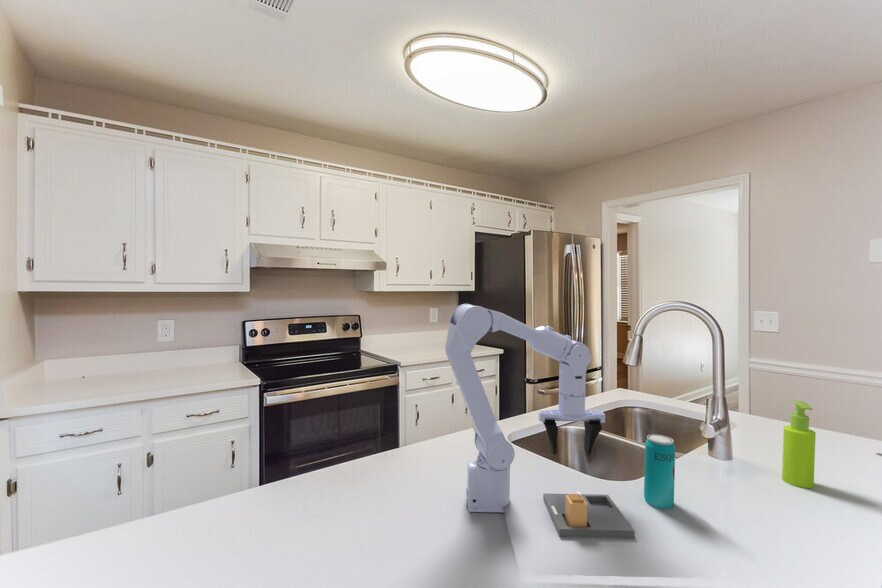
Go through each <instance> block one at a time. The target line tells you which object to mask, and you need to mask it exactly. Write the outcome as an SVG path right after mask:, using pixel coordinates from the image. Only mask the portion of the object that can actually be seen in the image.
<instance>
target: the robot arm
mask: <svg viewBox="0 0 882 588" xmlns="http://www.w3.org/2000/svg"><path fill="white" fill-rule="evenodd" d="M554 329H555V328H554V327H552V326H550V325H546V326H544V325H540V326H538V327H536V328H535V327H532V326H529V325H528V324H525V323H523V322H521V321H519V320H518V319H515V318H513V317H511V316H509V315H507V314H505V313H503V312H500V311H496V310H493V309H489V308H485V307H483V306H480V305H473V304H470V303H463V304H460V305H458V306H457V307H456V308H455V309H454V311H453V312H452V313H451V316H450V317H449V319H448V330H447V336H446V342H445V347H444V348H445V349H444V350H445V354H446V356H447V357H446V358H447V360H448V362H449V365H450V367H451V369H452V372H453V375H454V377H455V380H456V382H457V385H458V387H459V388H458V389H459V391H460V393H461V395H462V398H463V401H464V403H465V405H466V408H467V411H468V413H469V416H470V419H471V421H472V424H473V425H472V429H473V431H474V445H475V448H476V449H477V451H478V455H477V459H476V460H474V461H468V462H467V483H466V484H467V486H466V487H465V488H466V489H465V493H466V495H465V496H466V498H467V506H468V512H469V513H506V510H505V507H506V506H508V505H509V504H510V501H511V500H510V499H511V498H510V497H511V496H510V491H511V489H510V488H511V465H512V463H513V461H514V460H515V453H516V452H515V449H514V446H513V445H512V444H511V443H510V441H508V440H507V439H506V437H505V435H504V432H503V429H501V426H500V425H499V423H498V422H497V420H496V417H495V415H494V412H493V410H492V409H493V408H492V407H491V404H490V401H489V399H488V397H487V393H486V391H485V389H484V386H483V384H482V381H481V378H480V375H479V372H478V369H477V367H476V365H475V362H474V359H473V357H472V352H473V349H474V348H475V346H476V344H477V343H478V342H479V341H480V340H481V339H482V338H483V337H484V336H485V335H486V334H488V332H490V333H495V332H498V331H502V332H505V333H507V334H510V335H512V336H515V337H518V338H519V339H521V340H524V341H527V342H528V344H529V346H530V348H531V349H532V351H535V352H536V353H539V354H542V355H543V356H544V355H545V356H546V357H549V358H550V359H553V360H555V361H558V363H559V364H558V365H559V366H558V367H559V372H558V373H559V374H558V408H557V409H547V410H538V420H539V422H542V423H543V425H544V427H545V431H546V433H547V435H548V439H549V443H550V450H551V452H552V454H554V455H557V452H558V444H557V443H558V442H557V441H558V431H559V427H558V426H557V422H583V423H584V424H583V425H584V452H585V453H586V454H587V455H592V450H593V446H594V444H595V441H596V439H597V437H598V436H599V434H600V433H601V431H602V429H603V425H602V423H603V424H605V423H606V414H605V413H604V412H603V411H596V410H595V411H593V410H587V409H586V382H587V381H586V379H587V376H586V375H587V369H588V366H589V365H590V364H591V361H592V358H593V355H592V354H590V353H591V352H590V348H589V347H588V346H587V345H586V344H585V343H583V342H579V341H577V340H574V339H573V340H572V336H571V335H568V334H565V335H564V334H561V333H560V332H556V331H555V330H554Z"/></svg>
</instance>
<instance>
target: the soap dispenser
mask: <svg viewBox="0 0 882 588" xmlns="http://www.w3.org/2000/svg"><path fill="white" fill-rule="evenodd" d="M792 403H793V404H794V405H795V410H794V412H793V413H790V425H784V426H783V439H782V444H783V445H782V467H781V468H782V470H781V471H782V472H781V473H782V475H781V478H782V481H784V482H785V483H786V484H788V485H791V486H794V487H798V488H803V489H813V488H814V487H815V461H816V455H815V454H816V434H817V433H816V432H815V431H814V430H813V429H809V428H810V417H809V415H807V414H805V413H806V410H809V411H812V410H813V407H812V406H811V405H810V404H808V403H807V402H805V401H802V400H793V401H792Z"/></svg>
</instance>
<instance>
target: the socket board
mask: <svg viewBox="0 0 882 588" xmlns="http://www.w3.org/2000/svg"><path fill="white" fill-rule="evenodd" d="M575 492H576V494H580V495H582V496H583V498H584V500H585V501H586V503H587V527H568V526H567V524H566V522H565V498H566V495H569V494H570V493H543V496H542V497H543V499H542V500H543V503H544V505H545V507H546V509H547V512H548V514H549V517H550V519H551V521H552V524H553V526H554V529H555V530H556V532H557V535H558V537H559V538H561V537H562V538H599V539H601V538H602V539H603V538H605V539H608V538H609V539H635V536H636V535H635V534H636V531H635V529H634V527H632V525H631V524H630V523H629V521H628V520H627V519H626V517H625V516H624V514H623V513H622V512H621V510H620V509H619V508H618V506H617V505H616V504H615V503H614V501H613V500H612V498H611V497H610V495H609V494H597V493H596V494H593V493H592V494H588V493H587V494H586V493H581V492H580V491H578V490H576V491H575Z"/></svg>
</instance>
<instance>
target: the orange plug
mask: <svg viewBox="0 0 882 588" xmlns="http://www.w3.org/2000/svg"><path fill="white" fill-rule="evenodd" d="M568 494H569V495H566V498H565V522H566V524H567V526H568V527H587V503H586V501H585V500H584V498H583V496H582V495H580V494H578V493H568Z"/></svg>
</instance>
